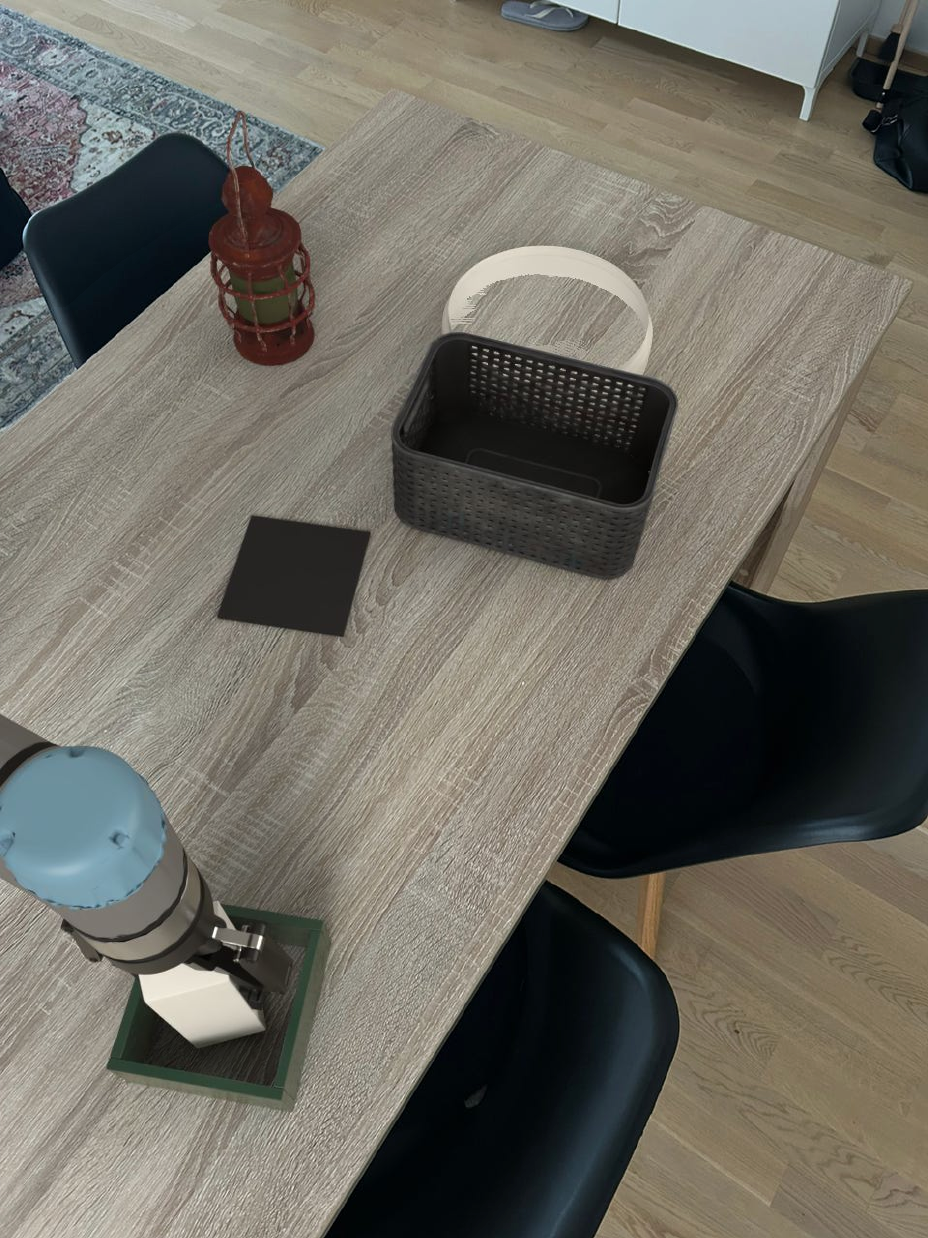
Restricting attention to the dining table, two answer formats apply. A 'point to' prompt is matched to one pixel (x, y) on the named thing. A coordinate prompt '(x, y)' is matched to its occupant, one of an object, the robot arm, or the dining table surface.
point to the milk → (202, 1002)
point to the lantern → (261, 268)
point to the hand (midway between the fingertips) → (209, 983)
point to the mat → (295, 576)
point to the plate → (552, 264)
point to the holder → (314, 937)
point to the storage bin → (530, 454)
